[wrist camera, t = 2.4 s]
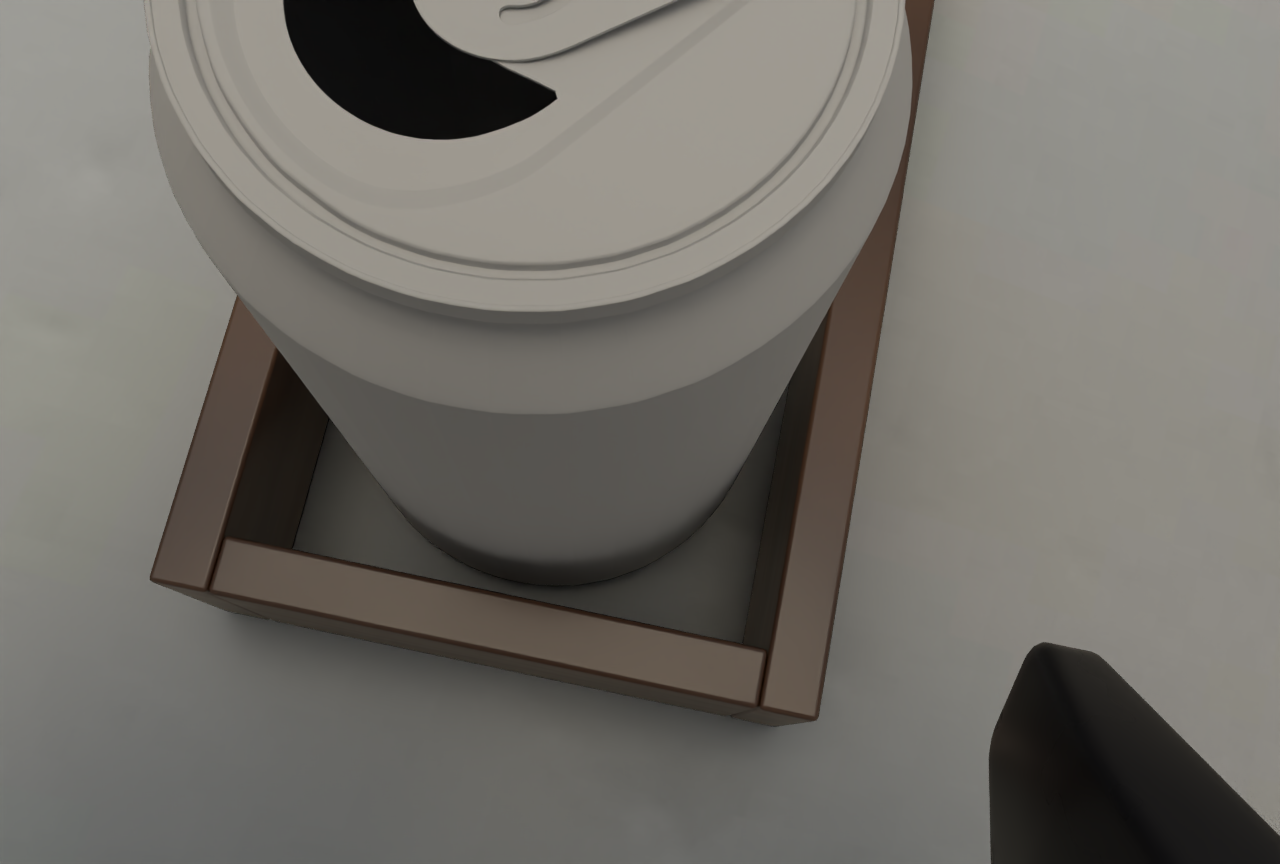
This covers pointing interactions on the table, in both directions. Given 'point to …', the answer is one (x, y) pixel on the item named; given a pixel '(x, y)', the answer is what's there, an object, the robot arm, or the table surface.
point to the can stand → (523, 628)
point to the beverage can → (536, 237)
